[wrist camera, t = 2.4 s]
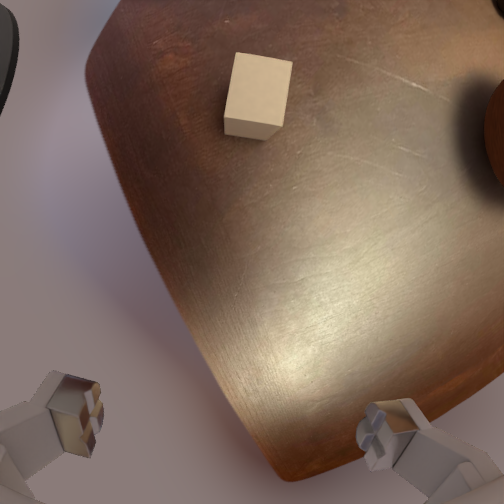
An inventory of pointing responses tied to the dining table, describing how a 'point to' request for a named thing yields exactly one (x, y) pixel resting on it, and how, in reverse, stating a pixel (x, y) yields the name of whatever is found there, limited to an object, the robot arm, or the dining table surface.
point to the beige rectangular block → (256, 96)
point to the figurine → (501, 4)
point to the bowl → (495, 132)
